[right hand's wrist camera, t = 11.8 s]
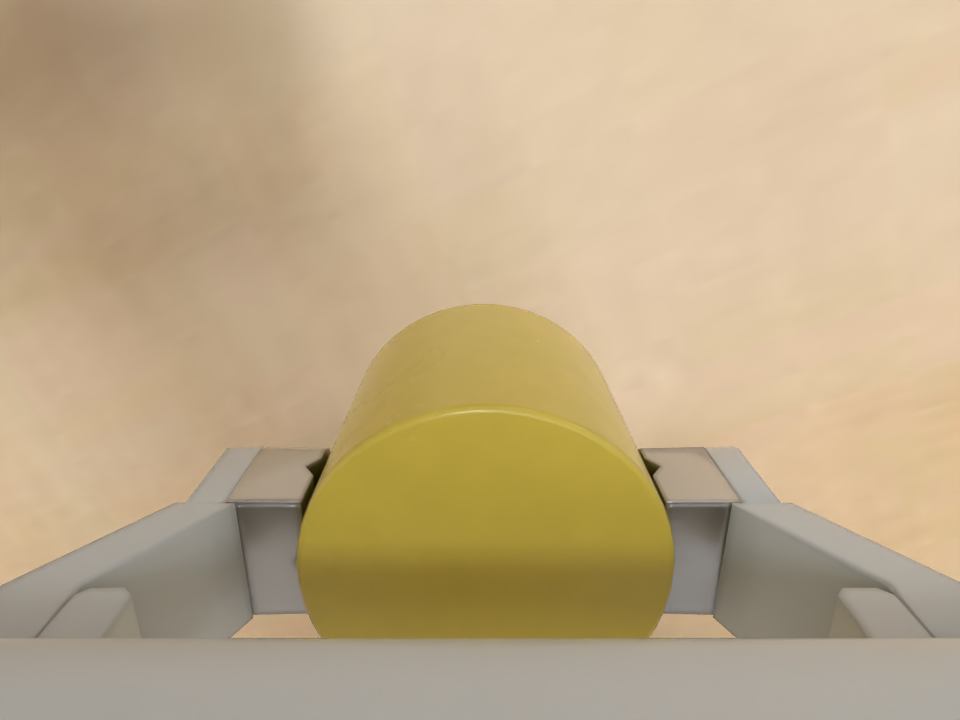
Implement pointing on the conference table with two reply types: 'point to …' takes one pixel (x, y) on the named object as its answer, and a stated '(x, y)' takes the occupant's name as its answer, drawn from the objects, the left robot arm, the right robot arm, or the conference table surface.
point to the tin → (484, 494)
